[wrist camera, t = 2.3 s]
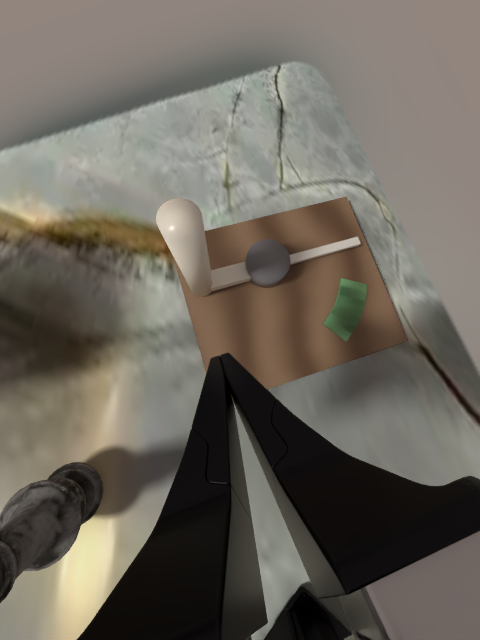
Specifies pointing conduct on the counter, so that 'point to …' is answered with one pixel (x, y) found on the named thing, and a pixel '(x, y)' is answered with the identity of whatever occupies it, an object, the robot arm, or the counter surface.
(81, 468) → the salt shaker
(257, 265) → the crank handle
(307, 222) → the dial plate
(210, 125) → the counter surface
